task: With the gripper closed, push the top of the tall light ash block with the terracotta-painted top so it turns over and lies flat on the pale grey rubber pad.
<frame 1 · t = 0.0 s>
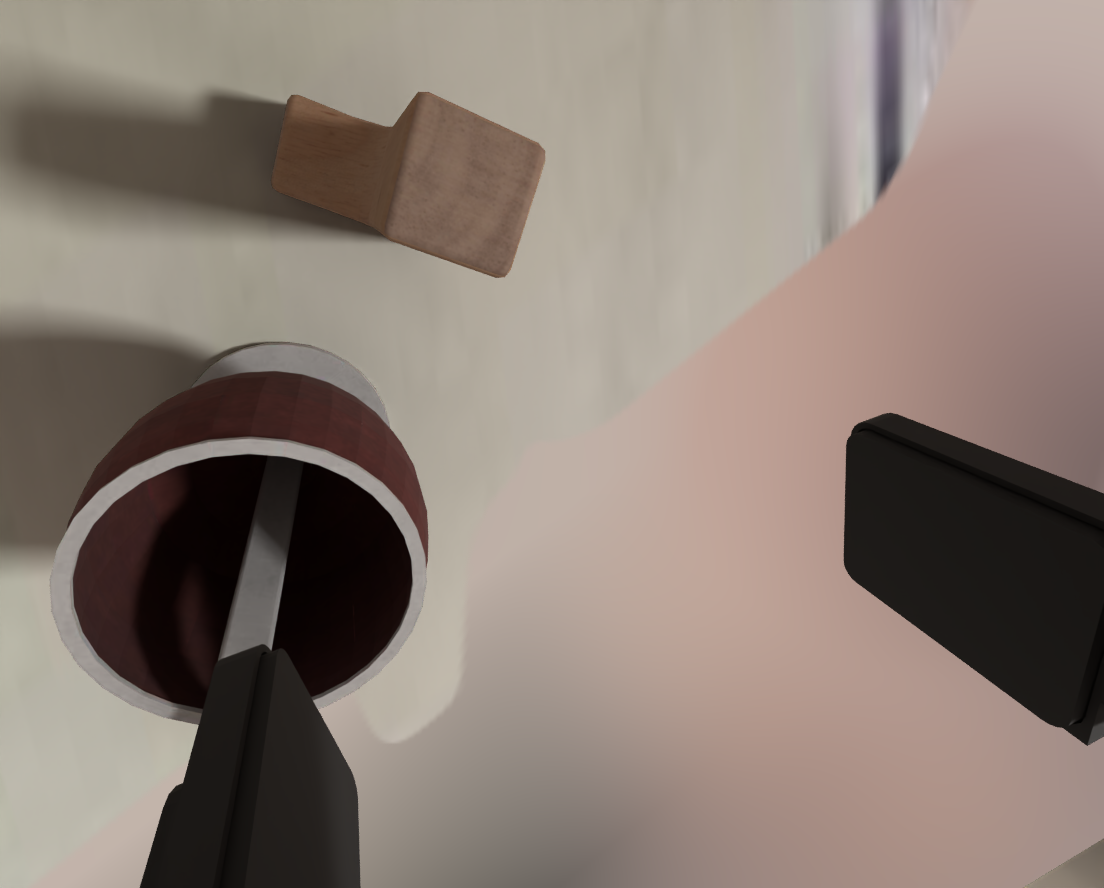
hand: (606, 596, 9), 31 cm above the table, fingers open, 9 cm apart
wooden block: (370, 180, 34), on the table
mate gourd: (288, 447, 38), on the table
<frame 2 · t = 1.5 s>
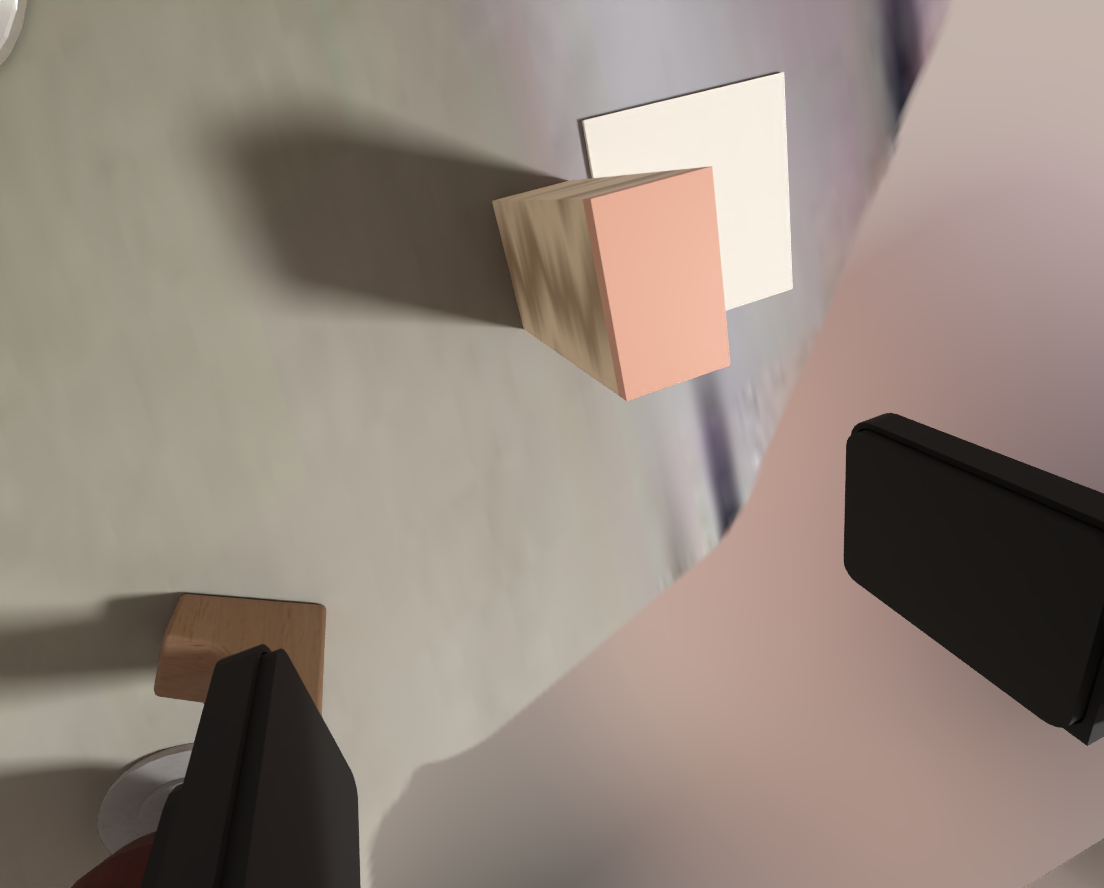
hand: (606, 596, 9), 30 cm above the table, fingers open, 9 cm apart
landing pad: (697, 213, 39), on the table
ash block: (545, 257, 37), on the table
wooden block: (251, 622, 40), on the table
mate gourd: (198, 810, 44), on the table
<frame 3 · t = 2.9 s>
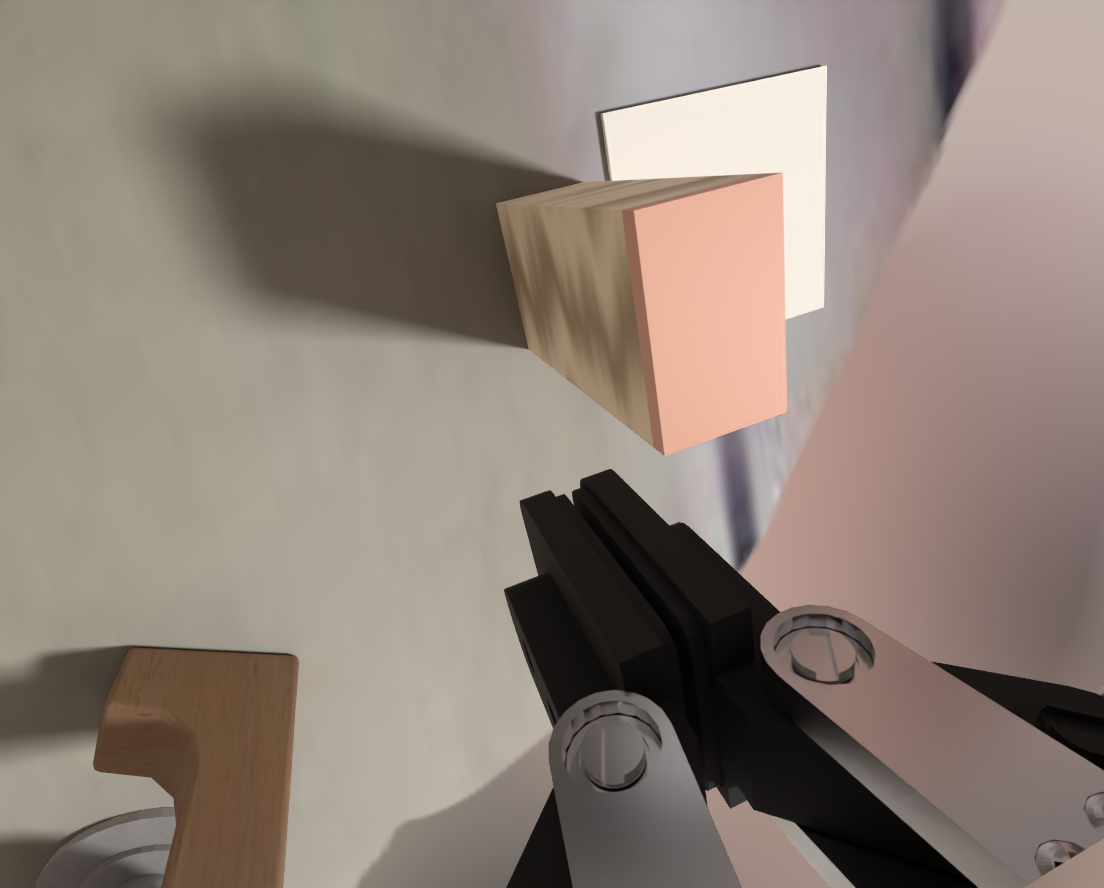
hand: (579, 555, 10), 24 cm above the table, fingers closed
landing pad: (725, 222, 35), on the table
ash block: (554, 268, 33), on the table
wooden block: (213, 676, 35), on the table
mate gourd: (151, 881, 39), on the table
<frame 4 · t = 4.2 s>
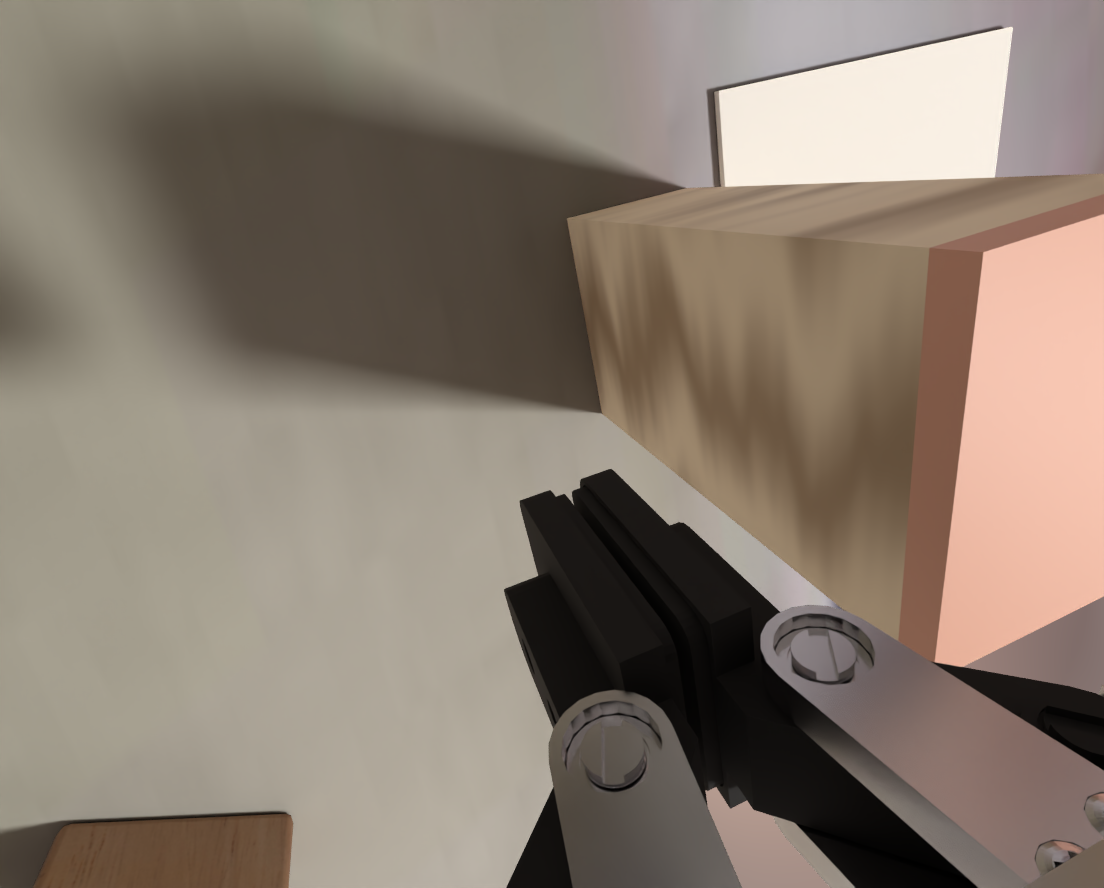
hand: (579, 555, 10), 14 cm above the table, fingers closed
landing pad: (863, 241, 26), on the table
ash block: (641, 306, 24), on the table
wooden block: (179, 847, 27), on the table
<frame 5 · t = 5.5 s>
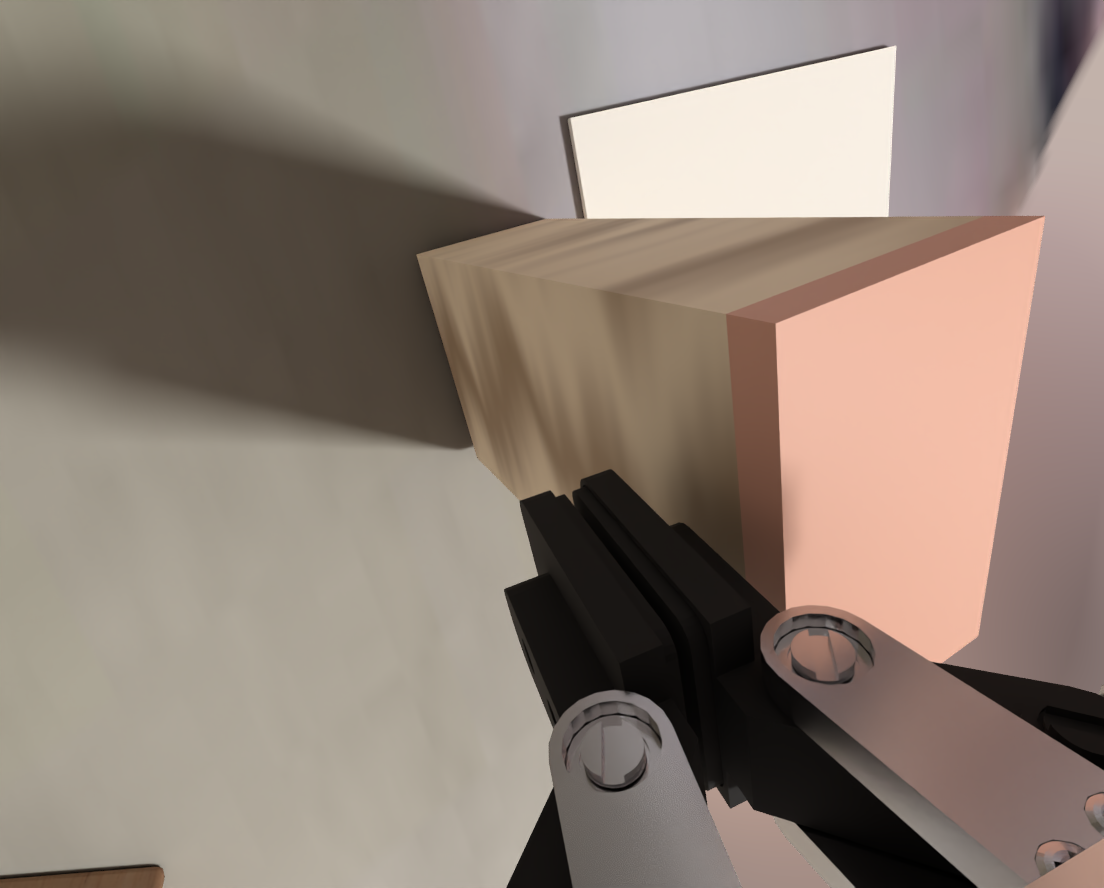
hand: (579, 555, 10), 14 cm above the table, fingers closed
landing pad: (749, 268, 25), on the table
ash block: (509, 343, 23), on the table, tilted 8°
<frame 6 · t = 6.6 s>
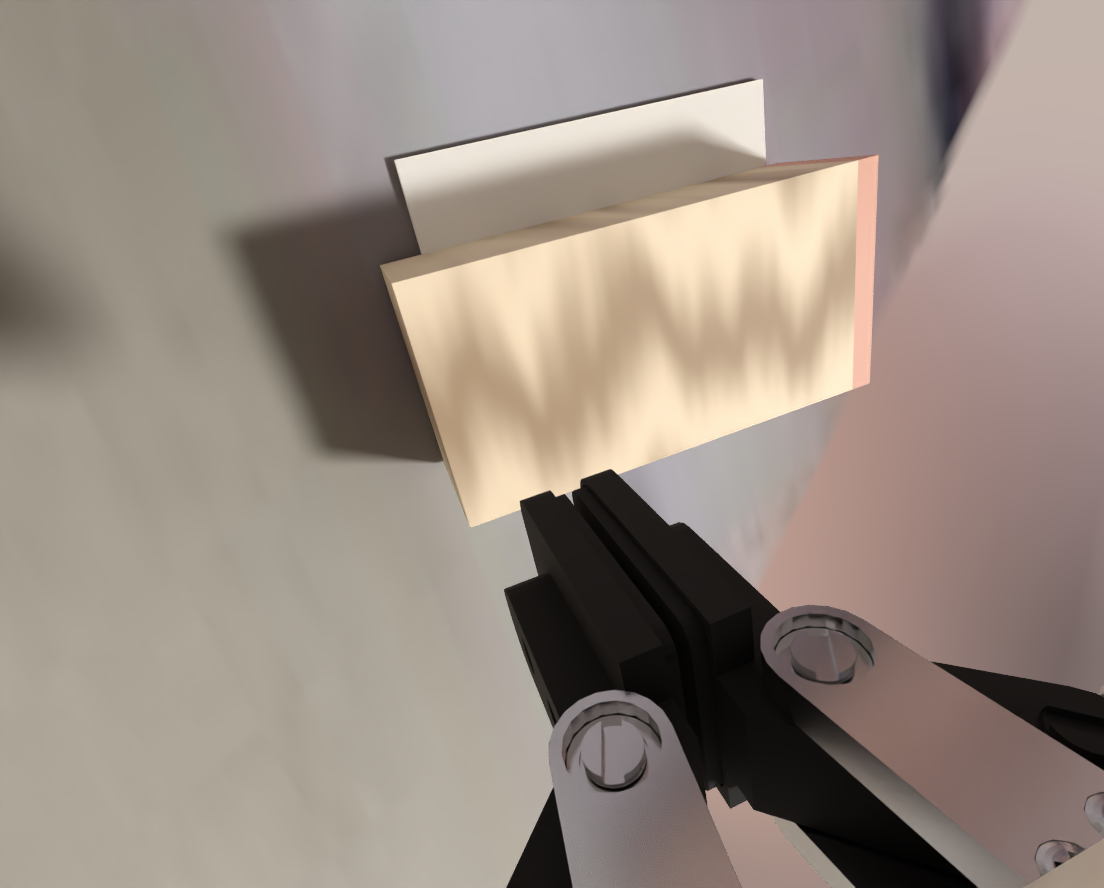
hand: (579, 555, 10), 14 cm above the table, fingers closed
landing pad: (618, 311, 24), on the table
ash block: (424, 393, 20), point 3 cm above the table, tilted 90°, touching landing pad
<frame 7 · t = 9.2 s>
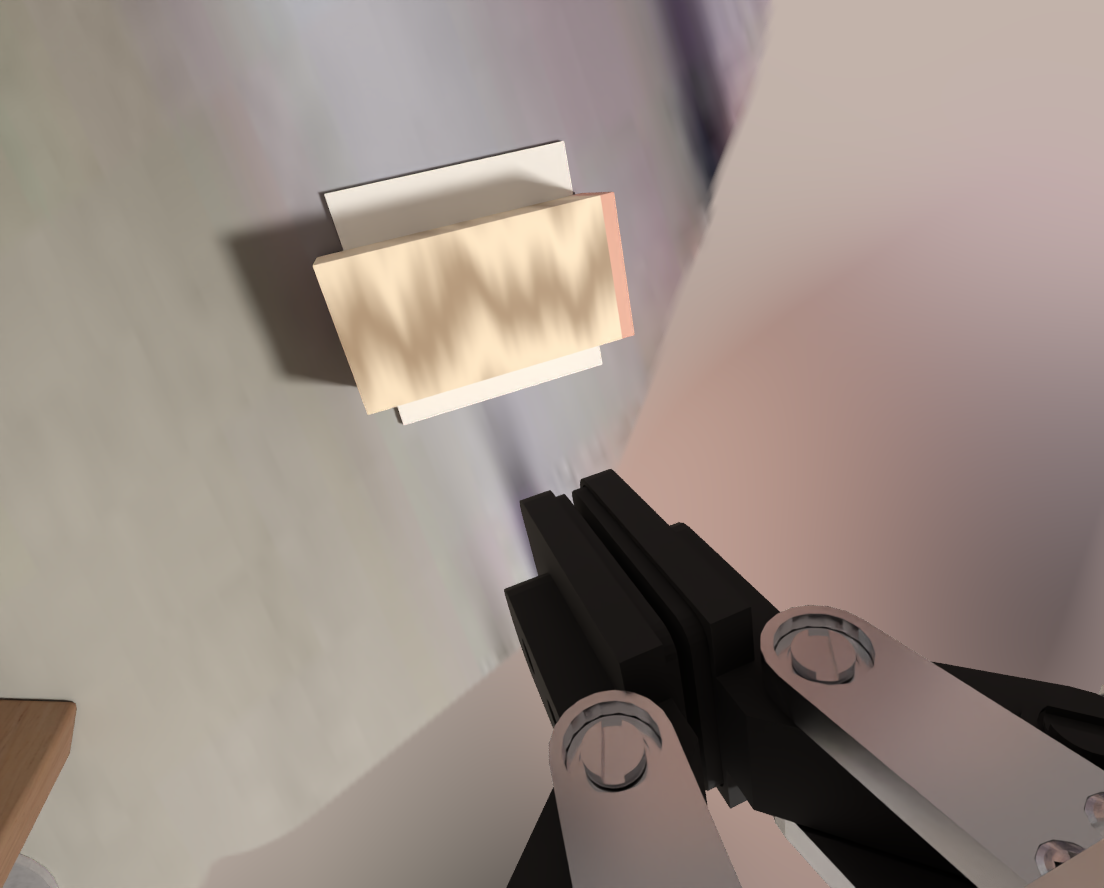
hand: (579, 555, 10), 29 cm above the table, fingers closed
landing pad: (479, 288, 36), on the table
ash block: (342, 335, 32), point 3 cm above the table, tilted 90°, touching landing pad
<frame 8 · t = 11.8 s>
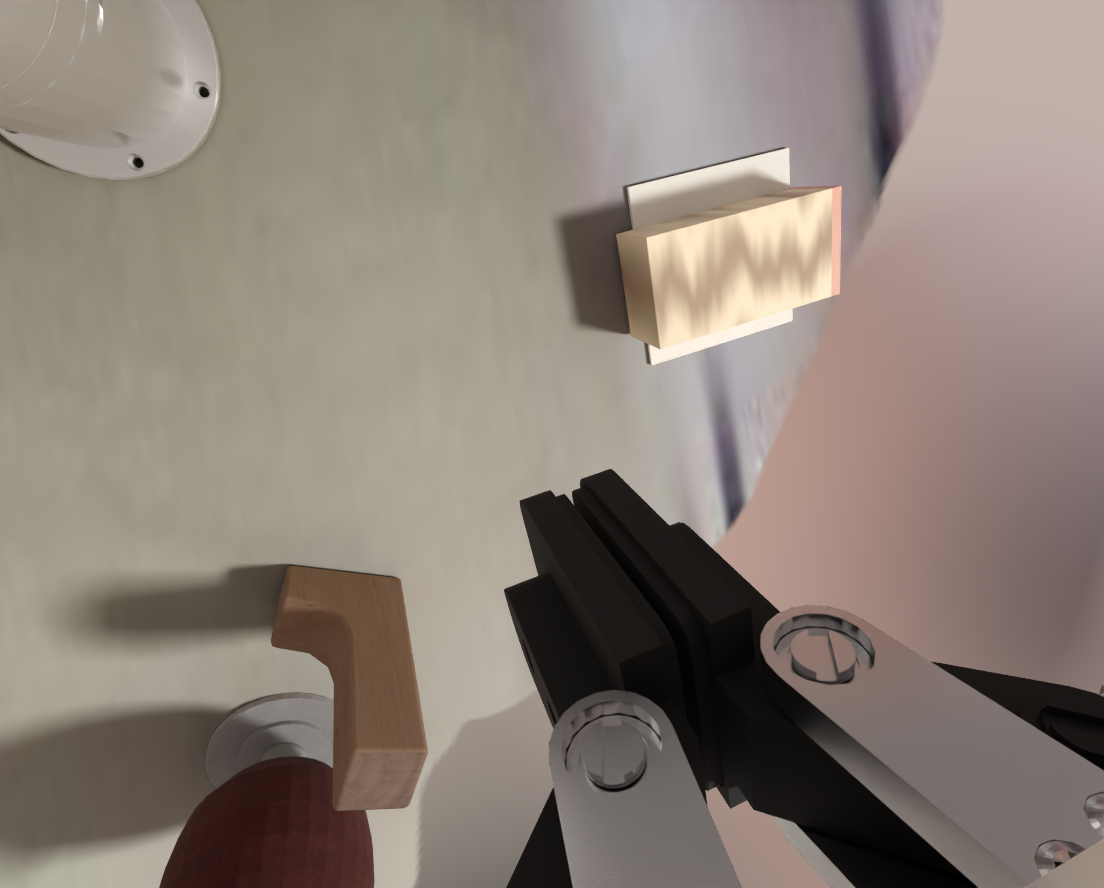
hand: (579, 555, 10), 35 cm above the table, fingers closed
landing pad: (716, 259, 48), on the table
ash block: (637, 291, 44), point 3 cm above the table, tilted 90°, touching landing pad
wooden block: (340, 591, 48), on the table
mate gourd: (283, 752, 52), on the table
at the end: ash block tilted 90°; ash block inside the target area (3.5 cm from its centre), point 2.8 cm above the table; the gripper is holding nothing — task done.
